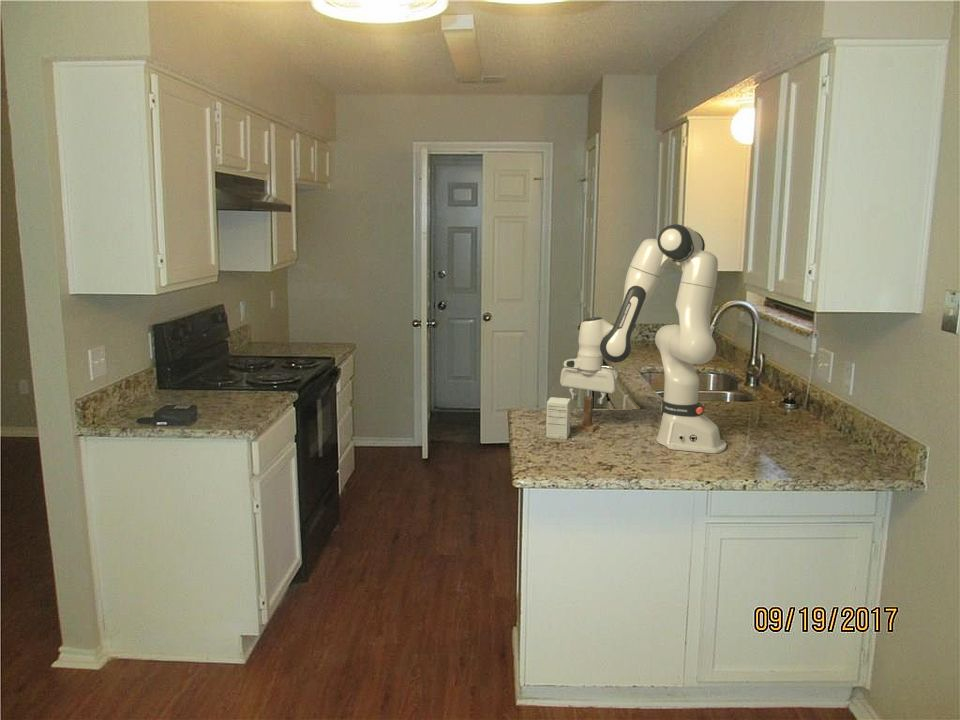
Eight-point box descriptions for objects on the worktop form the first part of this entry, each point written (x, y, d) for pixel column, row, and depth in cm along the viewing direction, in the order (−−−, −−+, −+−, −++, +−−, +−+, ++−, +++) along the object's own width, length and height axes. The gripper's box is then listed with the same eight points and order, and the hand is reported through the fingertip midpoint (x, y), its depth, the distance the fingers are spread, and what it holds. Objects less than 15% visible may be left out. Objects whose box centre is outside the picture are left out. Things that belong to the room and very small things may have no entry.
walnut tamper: (598, 427, 267) (599, 396, 265) (592, 432, 262) (593, 400, 260) (582, 425, 270) (583, 394, 267) (576, 429, 264) (577, 398, 262)
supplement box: (549, 431, 262) (550, 396, 259) (570, 433, 260) (571, 398, 257) (545, 437, 255) (546, 401, 252) (566, 439, 253) (568, 403, 250)
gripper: (621, 365, 259) (618, 404, 262) (566, 358, 269) (564, 396, 271) (615, 368, 254) (612, 408, 257) (559, 361, 263) (557, 399, 266)
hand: (587, 401), depth 264 cm, fingers open, 8 cm apart
